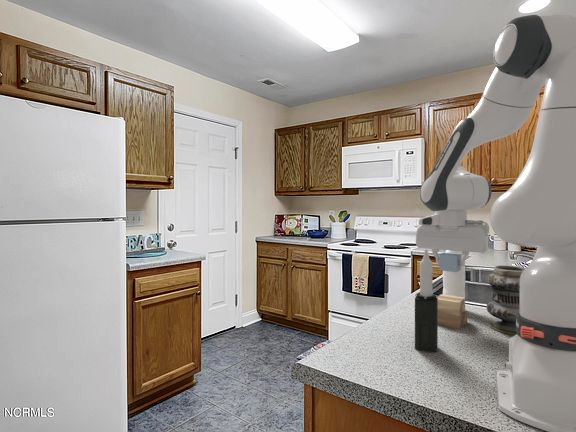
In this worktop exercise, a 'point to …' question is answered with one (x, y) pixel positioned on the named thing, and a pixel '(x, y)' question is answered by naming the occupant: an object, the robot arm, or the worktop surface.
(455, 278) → the water bottle
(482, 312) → the worktop surface
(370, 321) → the worktop surface
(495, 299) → the apothecary jar
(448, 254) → the blue cube
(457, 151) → the robot arm
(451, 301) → the top block
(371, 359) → the worktop surface
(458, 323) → the bottom block
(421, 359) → the worktop surface
